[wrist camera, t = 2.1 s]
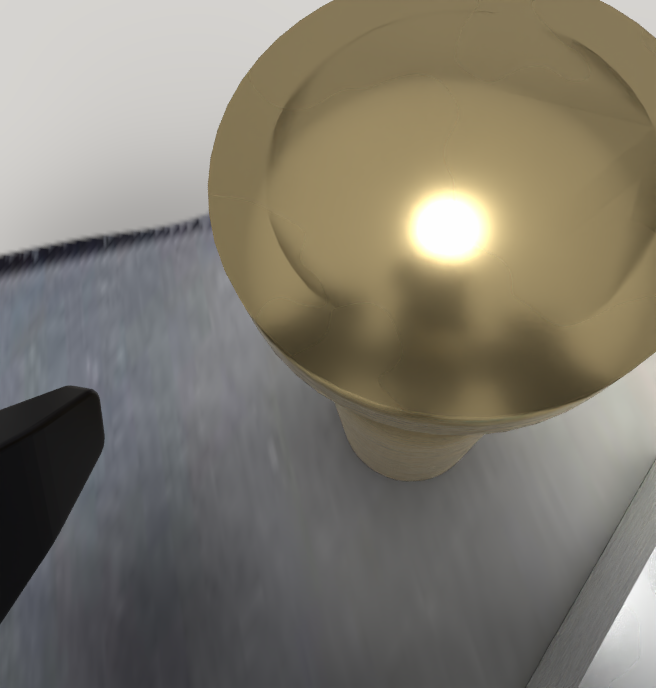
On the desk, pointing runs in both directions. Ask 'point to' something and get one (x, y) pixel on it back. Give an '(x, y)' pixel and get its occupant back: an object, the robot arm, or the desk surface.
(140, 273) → the desk surface
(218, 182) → the pin
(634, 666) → the metal roller frame
